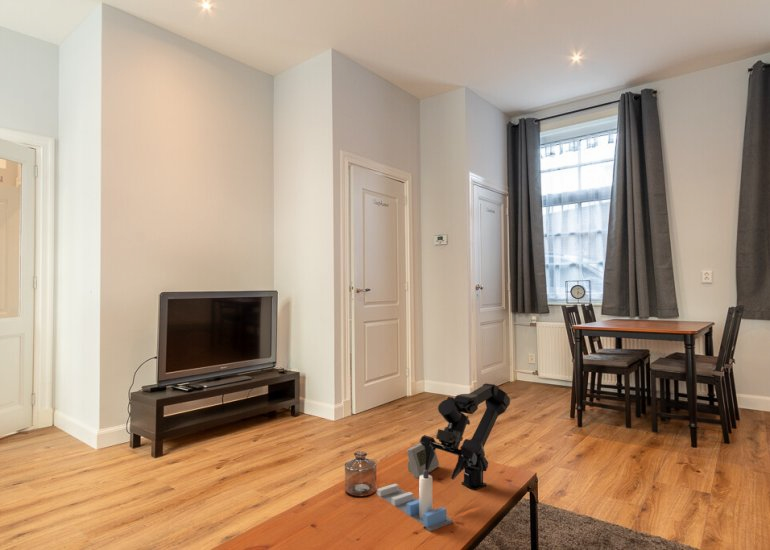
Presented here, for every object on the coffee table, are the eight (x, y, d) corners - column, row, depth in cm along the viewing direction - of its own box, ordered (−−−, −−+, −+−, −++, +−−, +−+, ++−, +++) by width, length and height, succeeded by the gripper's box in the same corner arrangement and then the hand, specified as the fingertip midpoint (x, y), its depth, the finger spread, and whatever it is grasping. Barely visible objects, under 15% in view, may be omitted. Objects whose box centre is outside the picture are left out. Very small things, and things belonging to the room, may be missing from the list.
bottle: (421, 512, 145) (421, 467, 146) (434, 515, 144) (434, 469, 144) (417, 518, 142) (417, 472, 142) (429, 521, 140) (430, 474, 140)
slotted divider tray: (396, 489, 164) (396, 477, 164) (452, 522, 141) (452, 509, 141) (375, 495, 159) (375, 484, 159) (429, 531, 136) (429, 517, 136)
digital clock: (416, 481, 170) (416, 452, 171) (399, 474, 177) (399, 445, 177) (445, 469, 181) (445, 442, 181) (428, 463, 188) (428, 436, 188)
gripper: (423, 411, 158) (405, 455, 150) (476, 426, 148) (459, 474, 140) (433, 426, 165) (416, 469, 157) (483, 441, 155) (468, 487, 147)
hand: (438, 474), depth 150 cm, fingers open, 9 cm apart
